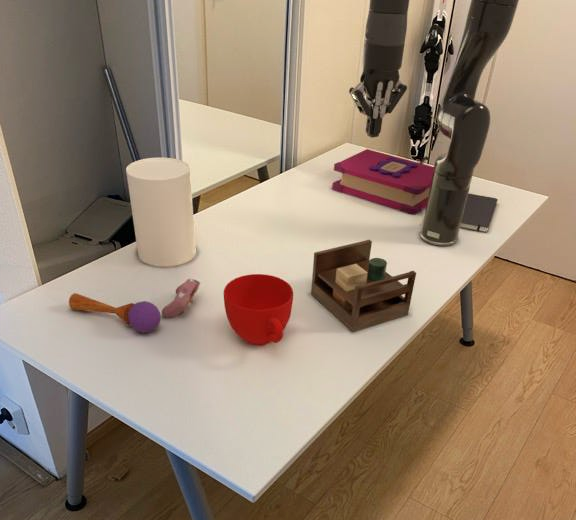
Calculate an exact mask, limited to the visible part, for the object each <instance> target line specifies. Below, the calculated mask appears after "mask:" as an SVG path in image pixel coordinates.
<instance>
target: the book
mask: <svg viewBox="0 0 576 520" xmlns="http://www.w3.org/2000/svg"><path fill="white" fill-rule="evenodd" d="M433 170H434V166H433V165H432V166H431V165H428V164H425V163H422V164H421V163H420V162H417V161H413V160H409V159H406V158H402V157H398V156H395V155H391V154H387V153H383V152H380V151H375V150H372V149H369V148H366V149H364V150H362V151H360V152H358V153H356V154H353V155H352V156H349V157H347V158H345V159H343V160H341V161H338V162H336V163H334V165H333V171H334V172H338V173H340V174H342V177H341V178H340V179H338V180H335V181H333V182H332V183H331V189H332V191H334V192H335V191H336V192H338V193H345V194H348V195H351V196H353V197H357V198H361V199H364V200H367V201H370V202H373V203H376V204H380V205H382V206H386V207H388V208H392V209H395V210H398V211H400V212H403V213H406V214H410V215H417V214H419V213H420V212H421V211H422V210H423V209H426V206H427V201H428V196H429V191H430V186H431V180H432V175H433Z"/></svg>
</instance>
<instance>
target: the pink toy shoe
mask: <svg viewBox="0 0 576 520" xmlns="http://www.w3.org/2000/svg"><path fill="white" fill-rule="evenodd" d="M200 284H201V282H200V281H199V280H197V279H194V278H192V277H189V278H188V279H186V280H185V281H184V282H183V283H181V284H180V285H178V286H177V288H176V289H175V294H176V295H175V297H174V299H173V300H172V301H171V302H170V303H169V304H167V305H165V306H164V307H163V308H162V309H161V316H162V317H163V318H167V319H168V318H169V319H170V318H171V319H172V318H174V317H176V316H178V315H179V314H183V313H184V312H185V310H186V309H190V308H191V306H192V302H193V297H194V296H195V294H196V293H197V291H198V290H199V288H200Z"/></svg>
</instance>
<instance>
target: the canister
mask: <svg viewBox="0 0 576 520" xmlns="http://www.w3.org/2000/svg"><path fill="white" fill-rule="evenodd" d="M125 173H126V179H127V180H126V181H127V187H128V194H129V199H130V201H129V202H130V206H131V207H130V208H131V214H132V221H133V229H134V235H135V242H136V250H137V256H138V258H139V260H140V261H141V262H143V263H145V264H147V265H150V266H155V267H176V266H180V265H183V264H185V263H188V262H190V261H191V260H192V259H194V257H195V256H196V253H197V249H196V248H197V247H196V246H197V245H196V234H195V220H194V206H193V194H192V193H193V192H192V179H191V166H190V165H189V163H187V161H184V160H181V159H177V158H172V157H147V158H142V159H138V160H135V161H132V162H131V163H129V164H128V165H127V166H126V168H125Z"/></svg>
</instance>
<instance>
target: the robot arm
mask: <svg viewBox="0 0 576 520" xmlns="http://www.w3.org/2000/svg"><path fill="white" fill-rule="evenodd" d="M519 1H520V0H470V4H469V8H468V12H467V15H466V20H465V23H464V28H463V32H462V36H461V40H460V44H459V47H458V50H457V54H456V58H455V62H454V65H453V69H452V72H451V75H450V77H449V80H448V83H447V86H446V88H445V90H444V91H445V92H444V94H443V96H442V100H441V102H440V105H439V109H438V112H437V121H436V122H437V128H438V130H439V132H440V133H441V134H442V135H443V136H444V137H446V138H448V139H450V141H449V145H448V147H447V148H448V149H447V152H446V153H442V154H439V155H438V156H437V157H436V158H435V160H434V166H433V167H434V170H433V175H432V180H431V186H430V191H429V196H428V201H427V206H426V207H425V212H424V216H423V222H422V226H421V231H420V234H419V235H420V238H421V240H423V242H425V243H427V244H429V245H432V246H439V247H448V246H453V245H455V244H456V243H458V240H459V233H460V230H461V228H460V226H461V221H462V217H463V213H464V209H465V205H466V201H467V197H468V193H469V192H470V189H471V183H472V180H473V175H474V172H475V168H476V167H477V165H478V164H479V162H480V160H481V158H482V154H483V151H484V147H485V144H486V140H487V138H488V135H489V134H488V133H489V130H490V125H491V112H490V109H489V107H488V106H487V105H485V104H484V103H482V102H481V101H479V100H476V99H475V98H476V94H477V91H478V90H477V89H478V87H479V83H480V80H481V77H482V75H483V73H484V71H485V69H486V67H487V65H488V64H489V62H491V61H490V60H491V59H492V58H493V57H494V56H495V54H496V53H497V51H498V50H499V49H500V47H501V46H502V44H503V43H504V42H505V40H506V39H507V37H508V35H509V33H510V31H511V28H512V25H513V21H514V18H515V15H516V12H517V8H518V5H519ZM409 6H410V0H369V6H368V9H369V10H368V13H367V19H366V23H365V32H364V40H363V49H362V59H361V66H362V73H361V76H360V77H359V83H358V84H357V85H356V86H355V87H353V86H352V87H350V88H349V89H348V94H349V95H350V97H351V99H352V101H353V102H354V104H355V106H356V109H357V110H358V112H359V113H360V114H362V115H364V116H366V123H365V125H366V126H365V133H366V135H367V137H369V138H372V139H373V138H379V136H380V134H381V132H382V126H383V119H384V118H385V116H386V115H387V114H391V113H392V112H393V111H394V109H395V108H396V107H397V105H398V104H399V102H400V100H401V99H402V97H403V96H404V95H405V93H406V91H407V90H408V85H406V84H404V83H402V81H401V80H400V78H401V77H400V72H399V70H401V68H402V65H403V58H404V52H405V45H406V36H407V31H408V14H409V13H408V12H409ZM425 161H429V157H428V156H427V155H426V156H423V158H421V160H420V161H419V163H421V164H424V162H425Z"/></svg>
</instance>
